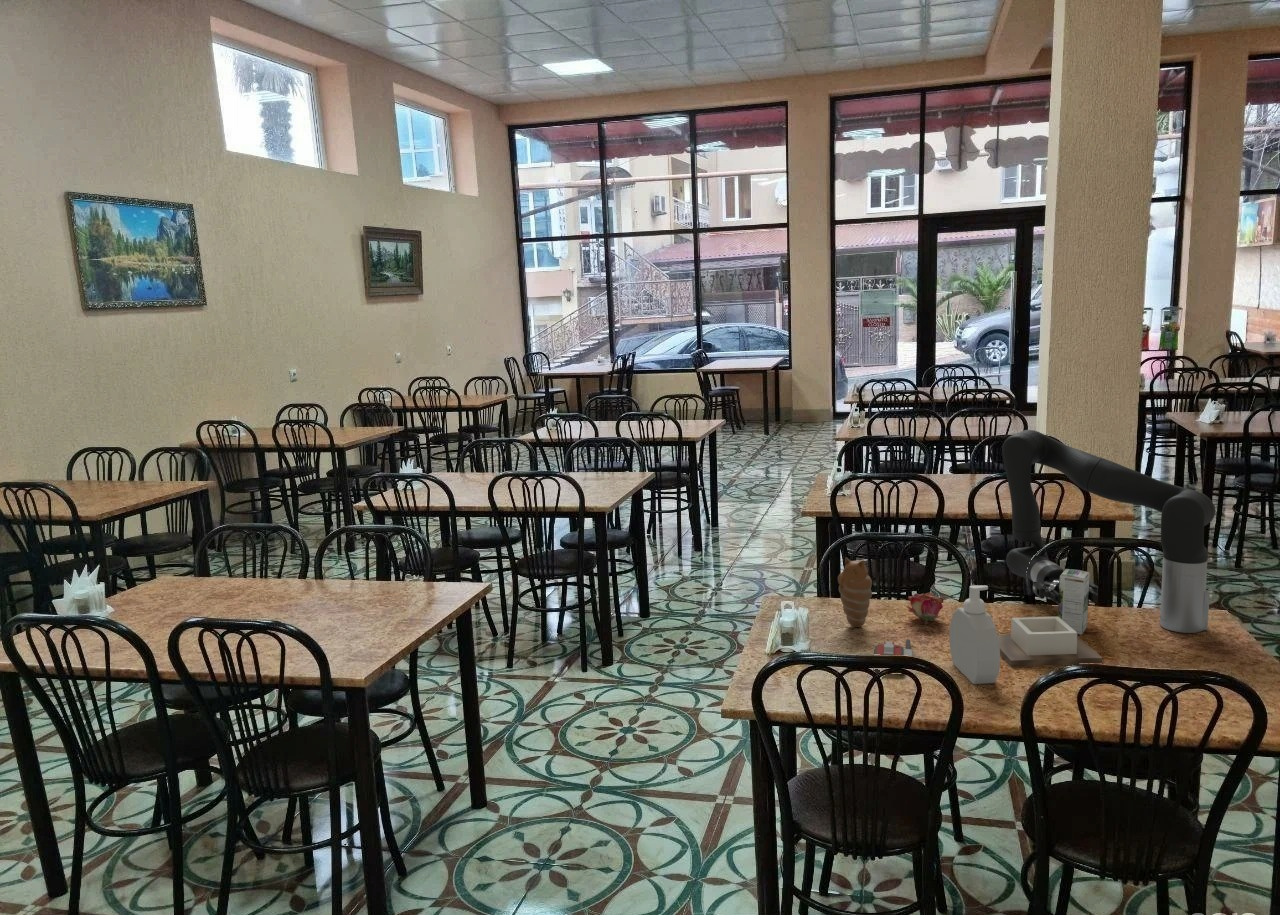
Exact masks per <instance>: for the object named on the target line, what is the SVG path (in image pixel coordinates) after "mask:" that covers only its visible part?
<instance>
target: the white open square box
mask: <svg viewBox="0 0 1280 915" xmlns="http://www.w3.org/2000/svg"><path fill="white" fill-rule="evenodd" d="M1010 620H1011V621H1010V623H1011V624H1010V625H1011V626H1010V629H1011V630H1010V634H1011V639H1012V640H1013V641H1014V642H1015V643H1016V644H1017V645H1018V646H1019V647H1020V648H1021V649H1022V650H1023V651H1024V652H1025V653H1026V654H1027V655H1059V654H1077V636H1078V634H1077V632H1076V631H1075V630H1073V629H1072V628H1071V627H1070V626H1069V625H1068V624H1066V623H1065V622H1064V621H1063V620H1062V619H1060V618H1059V617H1058V615H1057V616H1031V617H1030V616H1029V617H1011V619H1010Z"/></svg>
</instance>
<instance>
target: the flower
mask: <svg viewBox="0 0 1280 915" xmlns="http://www.w3.org/2000/svg"><path fill="white" fill-rule="evenodd" d="M907 598H908V601H909V604H910V605H911V606H910V605H906V608H907V609H908V612H910V613H912V614H913V615H915V616H916V617H917V618H918V619H920V620H924V625H925V626H928V625H929V622H932V621H937V619H939V618H940V617H942V615H940V616H939V613H940V612H941V610H942V609H943V607H944V606H943V603H944V597H943V596H940V597H937V596H935V595H934V594H933V593H932V592H931V591H929V592H927V593H924V592H923V593H919V594H918V593H915V594H913V595H911V596H910V595H908V596H907Z"/></svg>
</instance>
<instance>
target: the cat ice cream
mask: <svg viewBox="0 0 1280 915" xmlns="http://www.w3.org/2000/svg"><path fill="white" fill-rule="evenodd" d="M844 563H845V566H844V569H842V571H841V572H840V573H839V574H838V576H837V582H838V584H839V585H838V593H839V594H840V601H841V604H842V609H843V612H844V614H845V615H846V616H845V617H846V620H847V622H848V624H849V625H850V626H852V627H853V626H854V627H853V628H861V627H863V626H864V625H865V623H866V619H867V617H868V613H869V607H870V604H871V603H870V602H871V598H872V595H873V592H872V590H871V588H872V585H873V580H872V578H871V577H870V575H869V574H868V573H869V572H868V568H867V566H866V565H865V563H866V562H865V560H864V559H862V560H851V559H849V558H848V557H845V559H844Z"/></svg>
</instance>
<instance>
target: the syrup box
mask: <svg viewBox="0 0 1280 915" xmlns="http://www.w3.org/2000/svg"><path fill="white" fill-rule="evenodd" d="M1064 570H1065V571H1064V572H1063V573H1062V574H1061V575H1060V586H1059V594H1060V595H1061V603H1058V610H1057V616H1058V617H1059V618H1060V619H1062V620H1063V621H1064V622H1065V623H1066V624H1068V625H1069V626H1070V627H1071V628H1072V629H1073V630H1075V631H1076V632H1077V635H1084V633H1085V631H1086V629H1087V627H1088V614H1089V612H1088V611H1089V599H1088V598H1089V581H1090V575H1091V573H1090V572H1089V571H1084V570H1080V569H1072V568H1071V569H1069V568H1065V569H1064Z"/></svg>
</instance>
